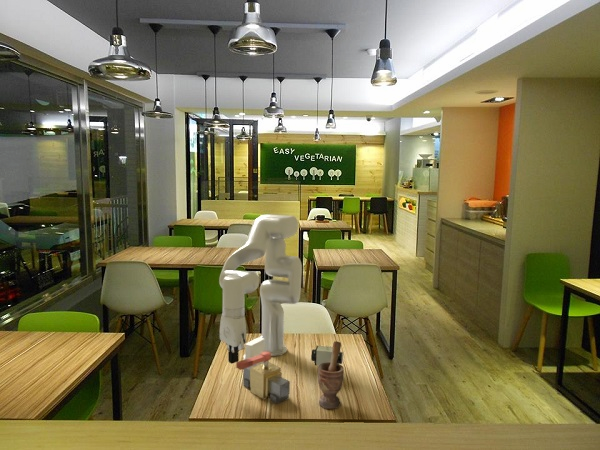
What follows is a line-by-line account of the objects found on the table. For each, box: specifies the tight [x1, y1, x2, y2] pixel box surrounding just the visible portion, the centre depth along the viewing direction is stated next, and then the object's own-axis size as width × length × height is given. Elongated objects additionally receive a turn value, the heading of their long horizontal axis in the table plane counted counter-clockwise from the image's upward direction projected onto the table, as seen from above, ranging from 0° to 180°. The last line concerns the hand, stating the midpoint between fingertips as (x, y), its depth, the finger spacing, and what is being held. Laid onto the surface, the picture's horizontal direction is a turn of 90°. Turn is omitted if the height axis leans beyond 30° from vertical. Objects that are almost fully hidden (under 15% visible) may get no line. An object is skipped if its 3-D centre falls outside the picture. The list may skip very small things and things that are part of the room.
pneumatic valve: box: [310, 345, 344, 367], centre depth 175 cm, size 6×12×12 cm, turn 78°
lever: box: [235, 351, 272, 371], centre depth 157 cm, size 14×4×2 cm, turn 135°
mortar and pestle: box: [317, 340, 345, 410], centre depth 155 cm, size 12×9×20 cm
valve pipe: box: [242, 360, 291, 405], centre depth 161 cm, size 20×8×12 cm, turn 45°
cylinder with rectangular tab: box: [242, 336, 264, 365], centre depth 178 cm, size 9×9×12 cm
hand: (233, 361), depth 159 cm, fingers closed
